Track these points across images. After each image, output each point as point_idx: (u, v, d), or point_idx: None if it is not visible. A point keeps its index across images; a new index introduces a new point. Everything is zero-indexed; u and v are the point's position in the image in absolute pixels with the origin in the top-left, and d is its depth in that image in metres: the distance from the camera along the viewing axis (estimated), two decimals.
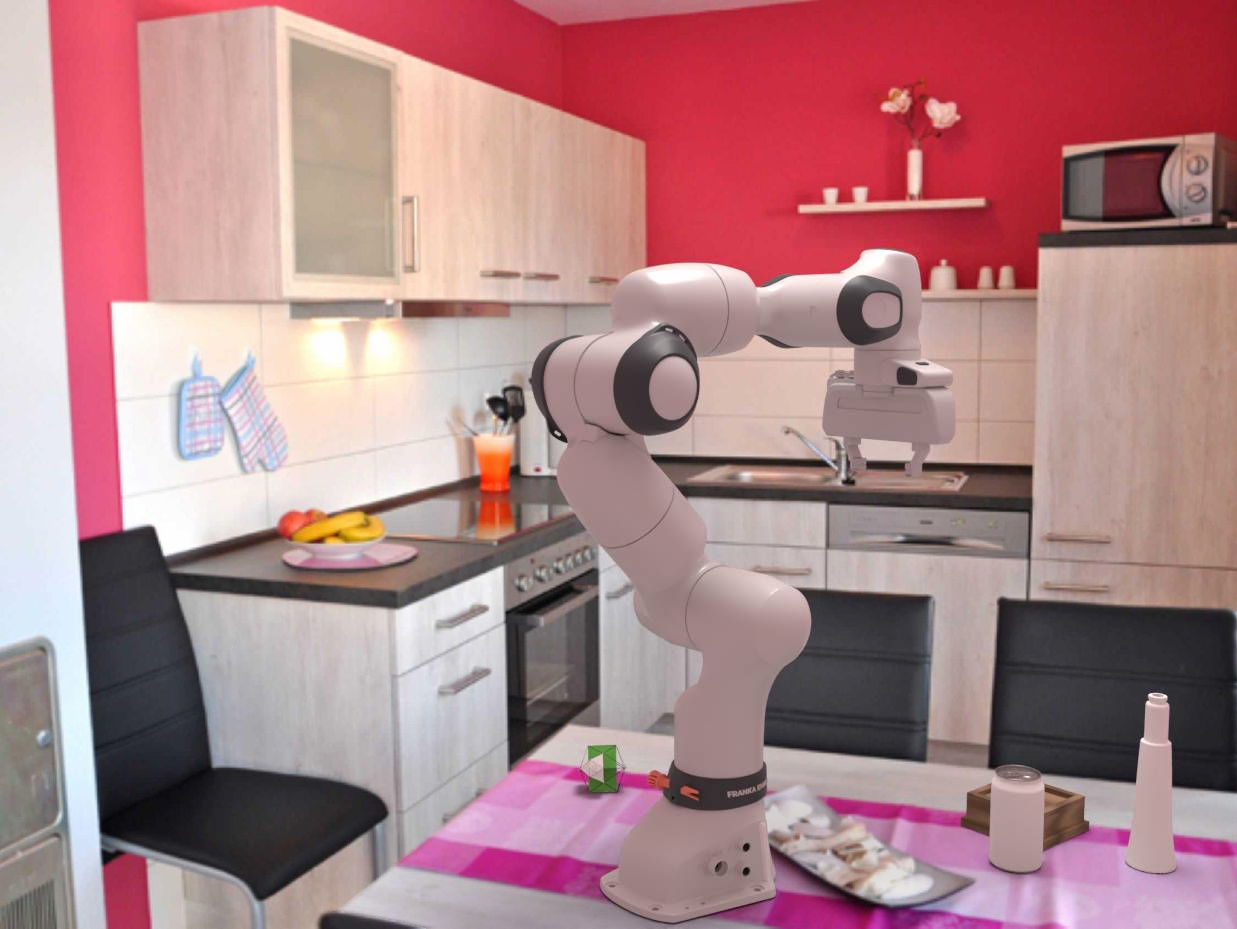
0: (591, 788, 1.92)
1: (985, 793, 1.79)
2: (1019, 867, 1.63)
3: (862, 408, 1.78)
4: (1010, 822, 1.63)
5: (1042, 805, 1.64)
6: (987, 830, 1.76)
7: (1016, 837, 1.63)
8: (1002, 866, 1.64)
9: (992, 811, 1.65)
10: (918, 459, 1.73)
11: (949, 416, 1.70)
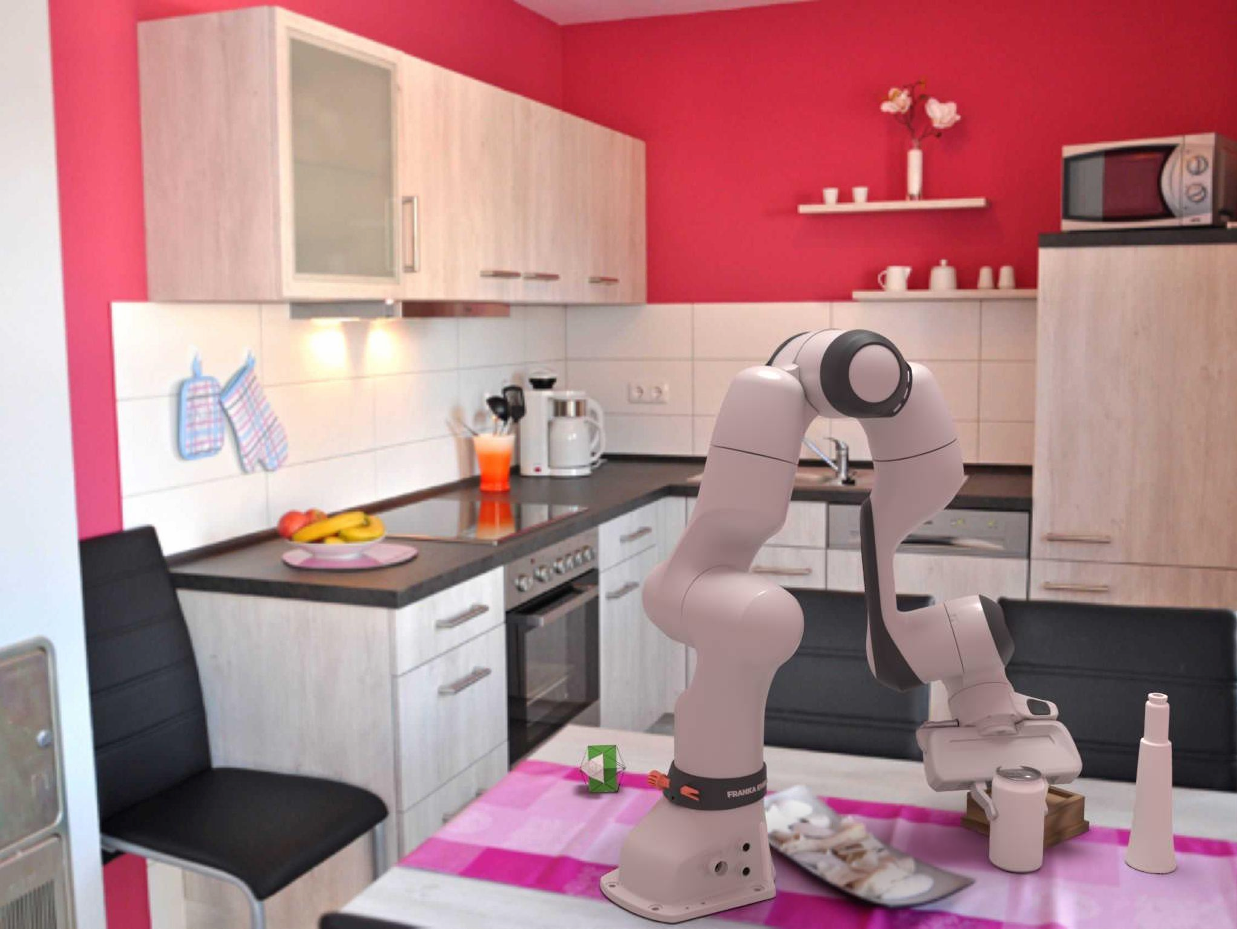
0: (591, 788, 1.92)
1: None
2: (1020, 866, 1.63)
3: (981, 749, 1.69)
4: (1011, 822, 1.63)
5: (1042, 805, 1.64)
6: (987, 830, 1.76)
7: (1017, 837, 1.63)
8: (1002, 866, 1.64)
9: None
10: (1045, 795, 1.67)
11: None
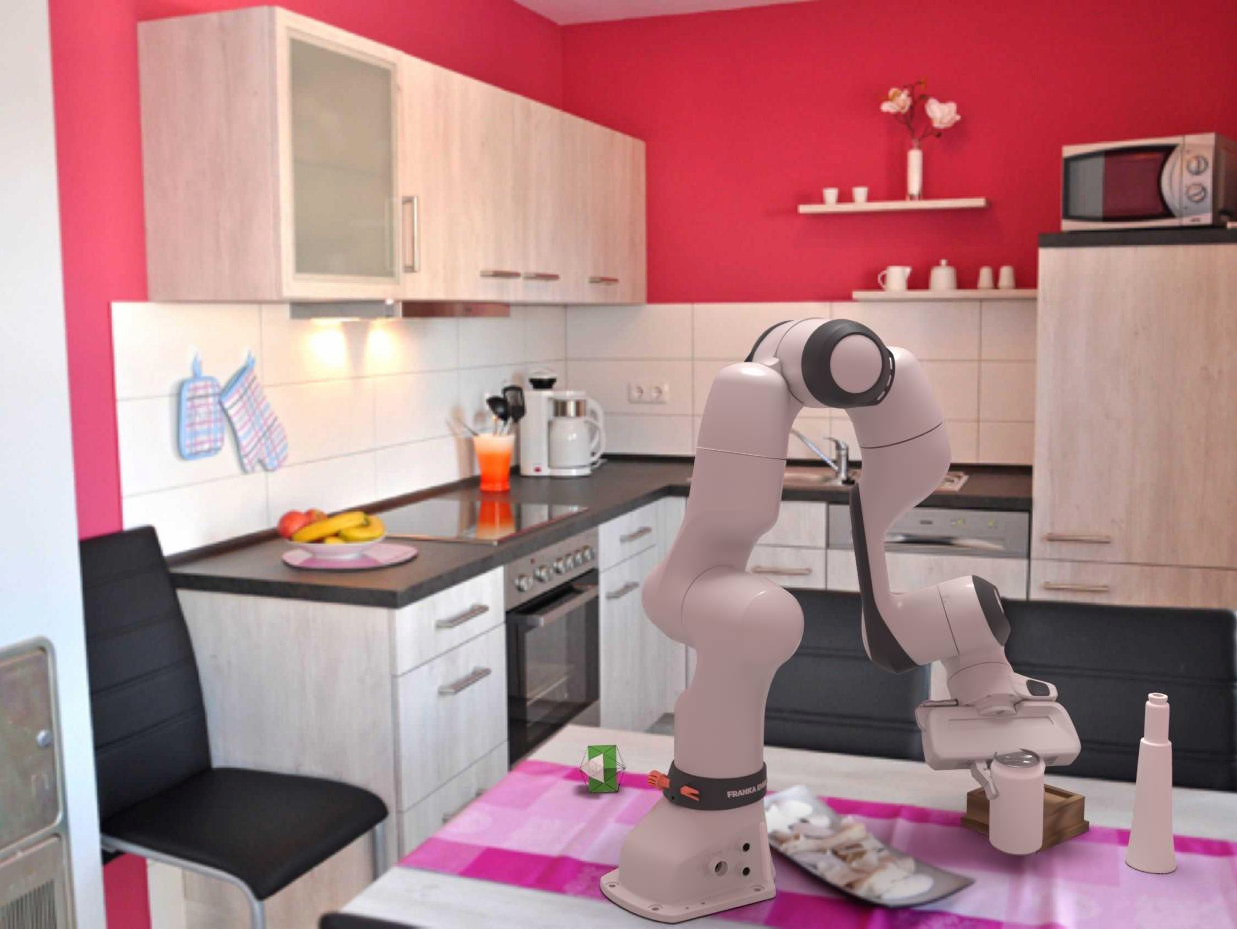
0: (591, 788, 1.92)
1: (985, 793, 1.79)
2: (1018, 850, 1.64)
3: (980, 728, 1.68)
4: (1009, 807, 1.63)
5: (1041, 790, 1.63)
6: (987, 830, 1.76)
7: (1015, 822, 1.63)
8: (1001, 848, 1.65)
9: None
10: None
11: None
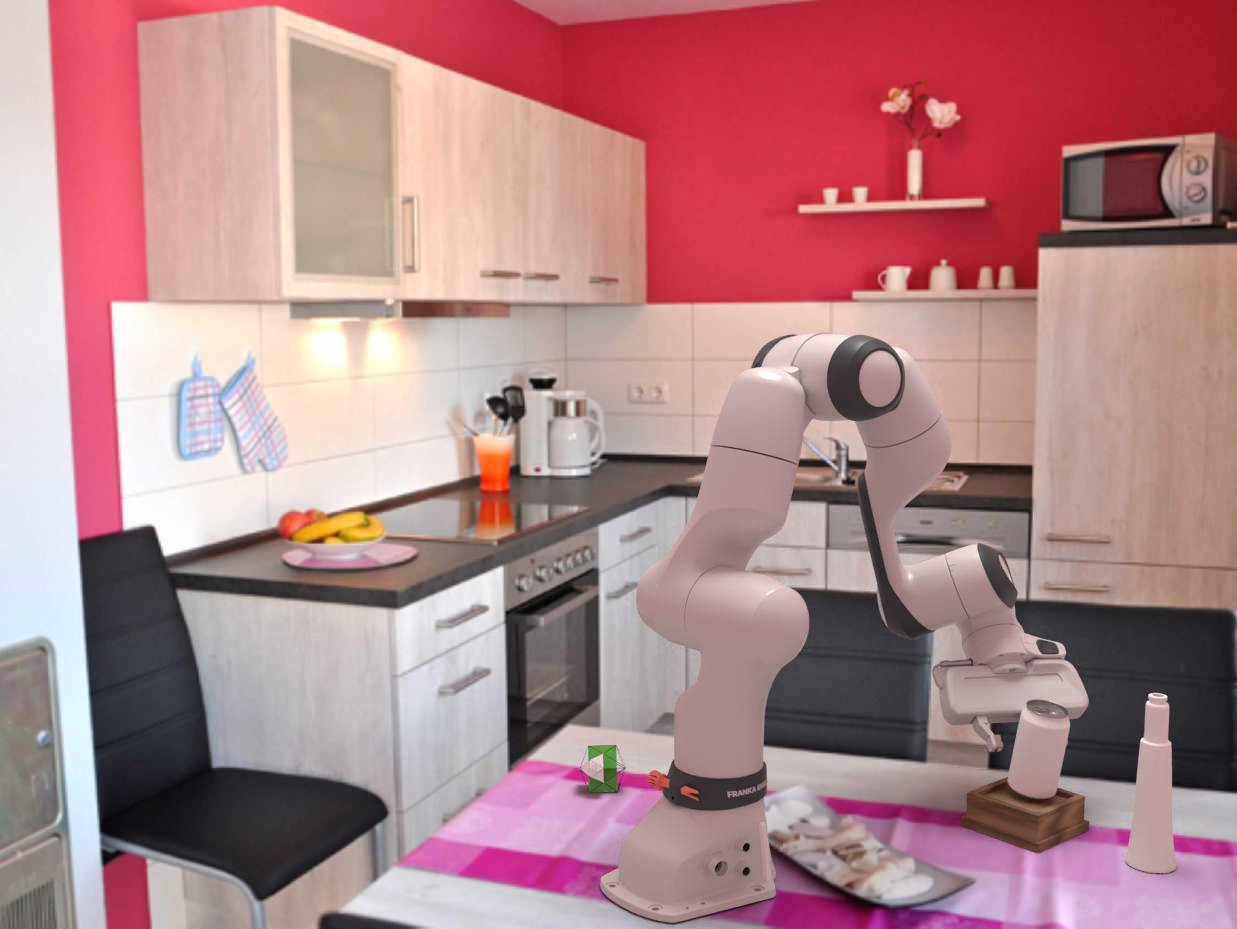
0: (591, 788, 1.92)
1: (985, 793, 1.79)
2: (1034, 793, 1.75)
3: (994, 685, 1.80)
4: (1032, 753, 1.75)
5: (1065, 741, 1.75)
6: (987, 830, 1.76)
7: (1035, 767, 1.75)
8: (1018, 790, 1.77)
9: (1017, 739, 1.77)
10: None
11: None
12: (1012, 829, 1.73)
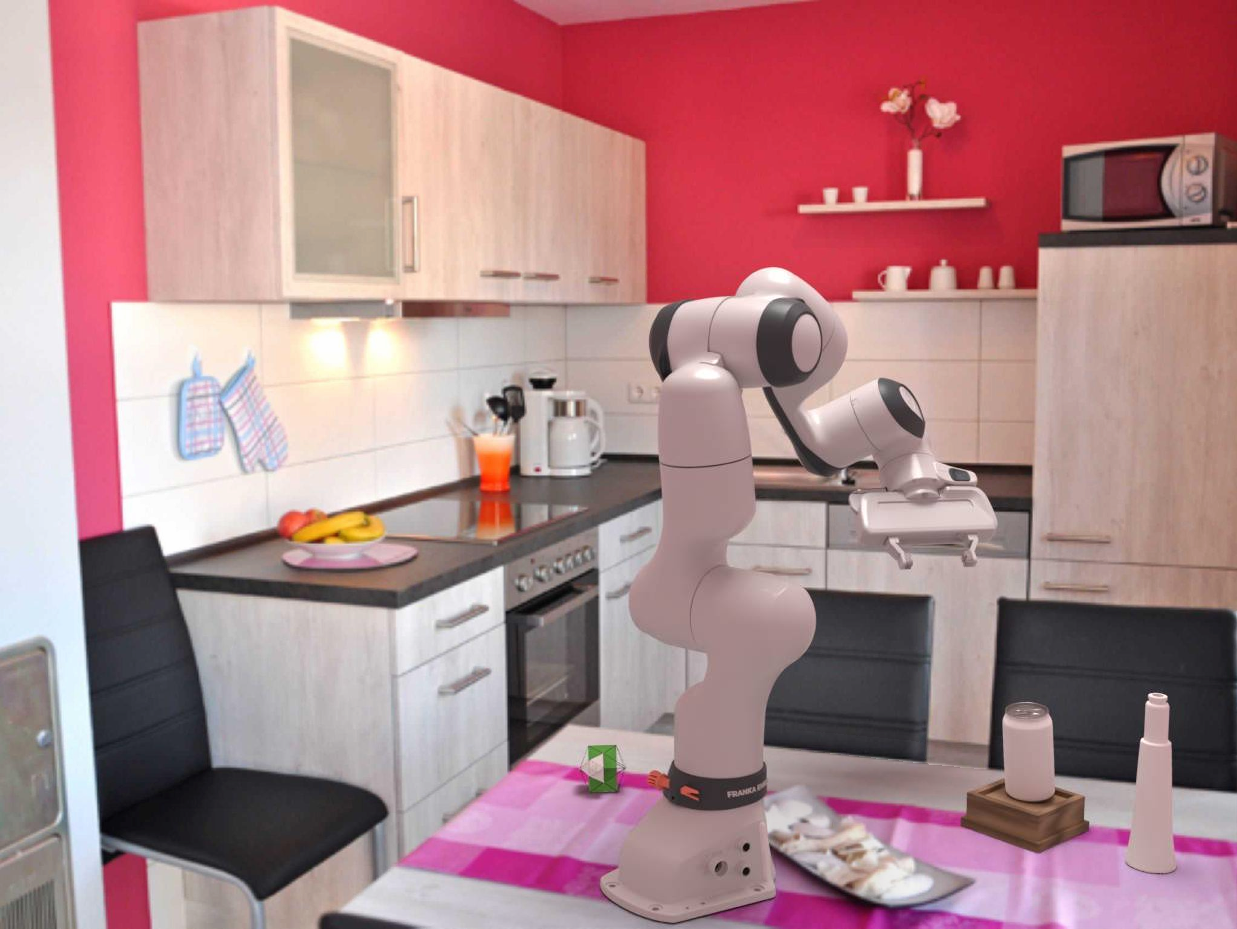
0: (591, 788, 1.92)
1: (985, 793, 1.79)
2: (1031, 796, 1.76)
3: (906, 509, 1.87)
4: (1020, 757, 1.75)
5: (1050, 739, 1.75)
6: (987, 830, 1.76)
7: (1027, 770, 1.75)
8: (1016, 796, 1.77)
9: (1004, 746, 1.78)
10: None
11: None
12: (1012, 829, 1.73)
